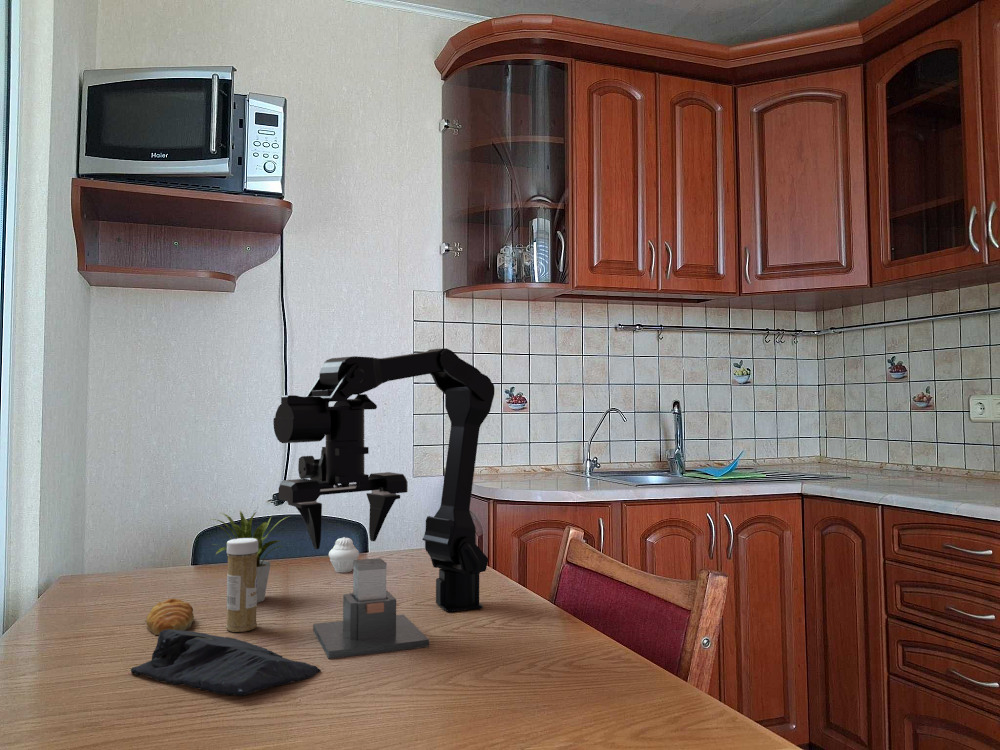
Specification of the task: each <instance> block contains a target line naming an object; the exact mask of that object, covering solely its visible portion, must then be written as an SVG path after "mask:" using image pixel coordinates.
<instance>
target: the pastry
mask: <svg viewBox="0 0 1000 750" xmlns="http://www.w3.org/2000/svg"><path fill="white" fill-rule="evenodd" d="M193 611H194V608H193V606H192V605H191V604H190V603H189V602H185V601H184V600H182V599H179V598H168V599H167V598H166V599H165V600H164V601H161V602H157V603H156V605H154V606H153V607H152V608H151V610H150V612H149V613H148V614H147V616H146V619H145V624H146V627H147V629H148V630H149V631H150V632H151V633H152V634H153V635H157V636H159V633H160V632H161V631H163V630H167V629H170V630H179V631H188V630H189V629H190V628H191V627H192V623H193V622H194V619H195V616H194V613H193Z"/></svg>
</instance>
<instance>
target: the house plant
mask: <svg viewBox="0 0 1000 750" xmlns="http://www.w3.org/2000/svg"><path fill="white" fill-rule="evenodd" d="M258 507H259V506H258ZM258 507H257V508H258ZM257 508H256V509H255V510H254V512H253V514H252V515H251V516H250V518H249V520H248V519H247V518H246V517H245V516H244V513H243V512H242V511H241V510H239V515H240V525H239V524H236V523H235V522H234V520H233V518H232V517H231V516H229V515H228V514H225V513H222V512H220V514H221V515H223V516H225V517H226V519H227V520H228V521H229V523H230V524H231V527H230V525H228V524H227V523H226V522H224V521H222V520H219V519H216V518H215V519H214V518H211V521H212V520H213V521H217V522H220V523H221V524H223V525H224V526H226V527H227V528H228V530H229V531H230V532H231V533H232V535H233V536H234V538H235V539H238V538H254V539H257V540H258V552H257V603H260V602H263V601H264V600H265V598H266V592H267V588H268V587H267V586H268V581H269V575H270V570H271V565H272V564H271V561H268V560H265V559H266V557H267V556H268V554H270V553H271V552H272V551H273V550H275V549H277V548H281V547H282V548H283V547H285V546H284V545H278V546H275V547H273V548H272V549H270V550H269V551H268V552H267V553H266V554H265V555H264V557H263V559H261V556H262V555H263V554H264V552H265V551H266V550H267V549H268V548H269V547H270V546H272V545H274V544H276V543H278V542H281V540H270V541H268V542H266V543H264V541H265V540H266V538H267V539H269V537H268V535H269V534H270V532H271V531H273V530H274V528H276V526H277V525H278V524H279V523H281V521H283V520H286V519H287V518H289V517H291V515H290V516H287V517H286V516H285V517H284V518H282V519H280V520H279V521H278V522H277V523H276V524H274V525H273V527H272V528H271V529H270V530H269V531H268V532H267V534H266V535H265V536H264V534H265V532H266V530H267V529H268V527H269V524H270V521H271V519H272V517H273V516H272V515H271V516H270V517H269V519H268V521H264V522H262V523H261V524H260V525H259V526H258V527H257V528H255V530H254V533H252V523H253V518H254V517H255V515H256V514H257V511H256V510H257ZM214 526H216V527H219V528H220V529H222V530H223V531H224V532H225V533H226V534H227V535H228V537H229V538H230V540H232V539H233V538H232V537H231V535H230V533H229V532H228V531H227V530H226V528H224V527H223V526H220V525H219V524H213V527H214ZM263 543H264V544H263ZM225 544H226V546H224V547H223V546H222V545H219V544H215V543H213V545H215V546H218V547H220V548H219V549H218V550H217V551H216V553H215V555H217V554H220V553H221V552H223V551H226V552H227V542H225Z"/></svg>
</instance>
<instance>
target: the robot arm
mask: <svg viewBox="0 0 1000 750" xmlns="http://www.w3.org/2000/svg"><path fill="white" fill-rule="evenodd" d="M318 375H319V376H318V378H317V379H316V380H315V382H314V383H313V385H312V387H311V388H310V389H309V391H308V392H307V393H306V395H305V396H299V395H296V394H295V395H293V394H292V395H290V394H289V395H281V398H280V399H281V400H280V401H281V402H280V405H278V407H277V410H276V412H275V417H274V418H273V430H274V431H273V432H274V434H275V437H276V439H277V440H278V441H279V443H280V444H296V443H298V444H299V443H311V442H312V443H313V442H314V443H315V442H316V443H317V442H320V441H322V440H324V438H325V446H321V451H320V452H321V453H320V455H321V456H320V458H316V459H315V457H314V456H313V455H302V456H300V457H299V458H298V466H297V467H298V470H297V471H298V476H299V478H297V479H283V480H282V481H281V483H280V484H279V486H278V500H280V501H284V502H287V504H288V505H289V506H292V507H295V509H296V510H298V513H299V514H300V516H301V518H302V520H303V522H304V524H305V527H306V529H307V532H308V535H309V539H310V541H311V544H312V547H313V548H314V549H315V550H319V549H320V546H321V540H322V514H323V513H322V511H323V509H322V508H323V504H322V502H318V499H319V497H320V496H326V495H337V494H347V493H357V492H367V493H366V498H367V501H368V503H369V524H368V531H369V532H368V533H369V540H370V541H371V542H376V540H377V538H378V536H379V533H380V531H381V529H382V527H383V524H384V523H385V520H386V518H387V516H388V514H389V512H390V510H391V509H392V507H393V506H394V504H395V502H396V500H399V499H401V495H400V494H404V493H408V489H409V487H408V480H407V477H406V476H405V475H404V473H397V472H390V471H387V472H375V473H370V474H368V473H366V474H365V455H369V450H370V449H369V446H365V410H376V409H377V408H378V405H377V404H376V403H375V402H374V401H373V400H371V399H370V398H369V396H368V394H366V392H369V391H370V390H374V389H376V388H378V387H379V386H380V385H381V384H385V383H386V382H392V381H396V380H403V379H407V378H408V379H409V378H415V377H420V376H426V375H430V376H431V377H432V380H433V381H434V384H435V387H437V388H438V390H440V392H442V393H443V394H444V396H445V400H444V403H445V405H444V407H445V409H446V412H447V415H448V418H449V420H450V431H449V438H448V446H447V447H448V448H447V454H446V462H445V469H444V477H443V486H442V494H441V501H440V506H439V509H438V510H437V512H436V513H435V515H434V516H430V515H428V516H426V518H425V519H426V520H425V531H424V535H423V537H422V541H424V543H425V544H424V547H425V551H426V552H427V554H428V556H429V558H430V560H431V564H432V567H433V568H437V569H438V577H437V578H436V579H435V604H437V606H439V607H440V608H441V609H442V610H444V611H445V612H448V613H450V612H459V611H468V610H477V609H483V608H484V605H483V604H482V603H481V602H480V573H482V572H486V570H487V566H488V563H489V558H488V556H487V555H486V554H485V553H484V552H483V550H481V549H480V547H479V546H478V545H477V544H476V543H477V542H476V540H477V538H476V537H477V535H476V533H477V532H476V528H477V527H476V525H475V523H474V520H473V516H472V514H471V511H470V510H471V509H470V508H471V500H472V493H473V485H474V477H475V476H474V475H475V469H476V460H477V459H476V458H477V450H478V446H479V445H478V442H479V435H480V429H481V426H482V424H483V422H484V421H485V420H486V419H487V417H488V416H489V414H490V412H491V408H492V405H493V401H494V396H495V385H494V383H493V382H492V380H491V379H490V377H489V376H488V375H486V374H484V373H482V372H481V371H480V370H479V369H478V368H476V367H475V366H473V365H472V364H470V363H468V362H466V361H465V360H463V358H460V357H459V356H458V355H457V354H456V353H455V352H454V351H452V350H451V349H450V348H444V347H443V348H433V349H432V348H431V349H428V350H426V351H421V352H416V353H409V354H408V353H407V354H402V355H395V356H388V357H381V358H379V357H378V358H377V357H372V356H358V355H357V356H344V357H342V356H341V357H332V358H331V357H330V358H328V359H326V360H325V361H323V363H322V366H321V367H320V370H319V374H318ZM353 395H356V396H355V398H350V397H352V396H353ZM331 402H334V404H333V405H332V406H330V404H329V403H331ZM369 491H371V492H369Z"/></svg>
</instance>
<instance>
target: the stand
mask: <svg viewBox="0 0 1000 750" xmlns="http://www.w3.org/2000/svg"><path fill="white" fill-rule="evenodd" d="M342 606H343V607H342V608H343V609H342V620H337V621H335V620H334V621H327V622H317V623H316V622H315V623H313V624H312V630H313V633H314V635H315V637H316V638H317V640H318V642H319V644H320V645H321V648H322V650H323V651H324V654H325V655H326V657H327V658H328V659H329V660H332V659H339V658H347V657H356V656H363V655H365V656H366V655H373V654H382V653H389V652H398V651H407V650H414V649H422V648H423V649H424V648H429V647H430V639H429V638H428V637H427V636H426V635H425V634H424V632H422V631H421V630H420V629H419V628H418V627H417V625H415V624H414V623H413V622H412V621H411V620H410V619H409V618H408V617H407V616H406V615H405V614H397V598H396V597H395V596H393V594H391V593H390V592H389V591H388V590H386V599H384V600H373V601H363V602H357V601H356V600H355V599H354V598H353V592H349V593H346V594H345V593H343V594H342Z"/></svg>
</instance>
